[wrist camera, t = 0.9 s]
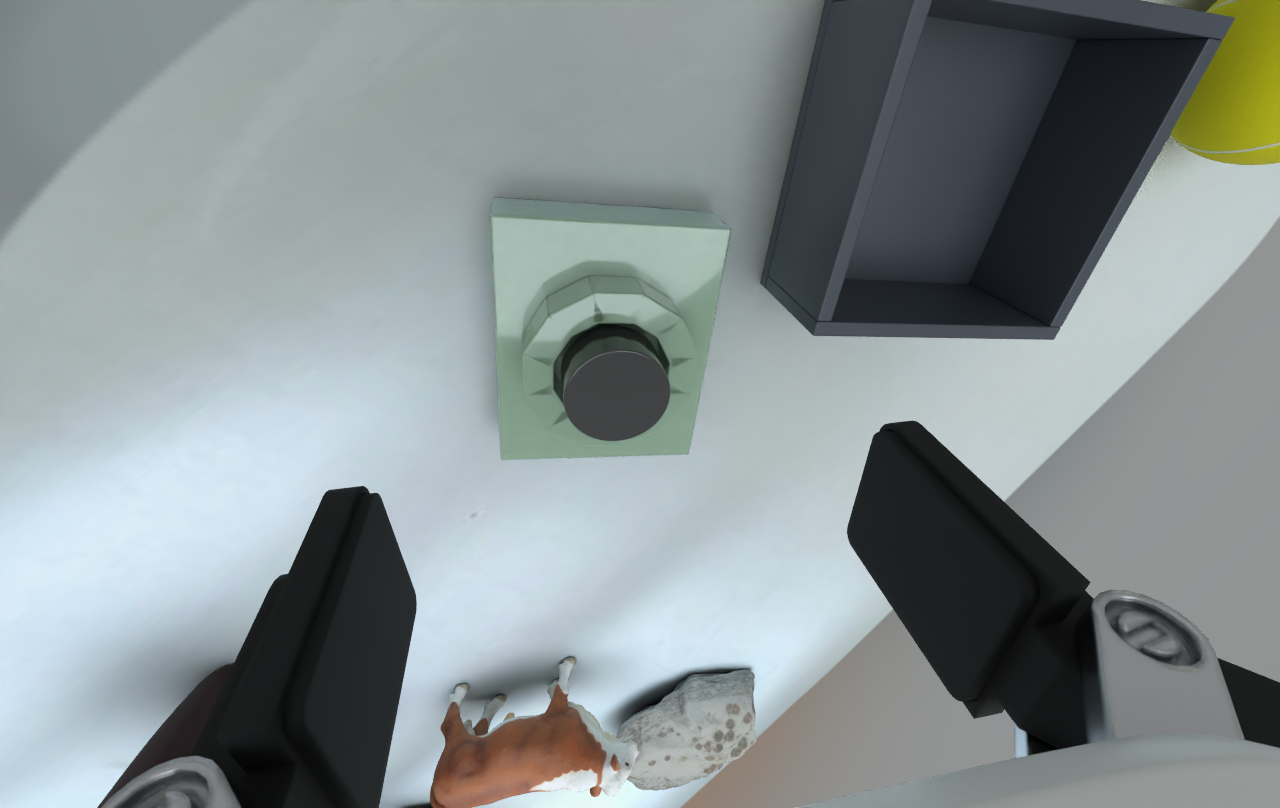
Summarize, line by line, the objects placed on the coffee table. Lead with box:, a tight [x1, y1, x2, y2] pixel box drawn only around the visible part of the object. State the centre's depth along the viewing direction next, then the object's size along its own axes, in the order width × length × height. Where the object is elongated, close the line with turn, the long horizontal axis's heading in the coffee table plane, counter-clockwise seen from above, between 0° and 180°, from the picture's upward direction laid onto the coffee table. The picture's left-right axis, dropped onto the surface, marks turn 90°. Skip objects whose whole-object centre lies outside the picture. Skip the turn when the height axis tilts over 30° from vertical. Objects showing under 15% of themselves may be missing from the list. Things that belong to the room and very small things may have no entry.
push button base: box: [490, 198, 731, 460], centre depth 23 cm, size 11×9×4 cm
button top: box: [560, 326, 671, 441], centre depth 21 cm, size 4×4×2 cm
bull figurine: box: [430, 657, 640, 808], centre depth 36 cm, size 4×14×8 cm, turn 93°
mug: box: [98, 665, 233, 808], centre depth 31 cm, size 10×14×12 cm
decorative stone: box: [617, 669, 756, 790], centre depth 43 cm, size 12×11×5 cm
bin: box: [761, 0, 1235, 340], centre depth 21 cm, size 11×11×6 cm
